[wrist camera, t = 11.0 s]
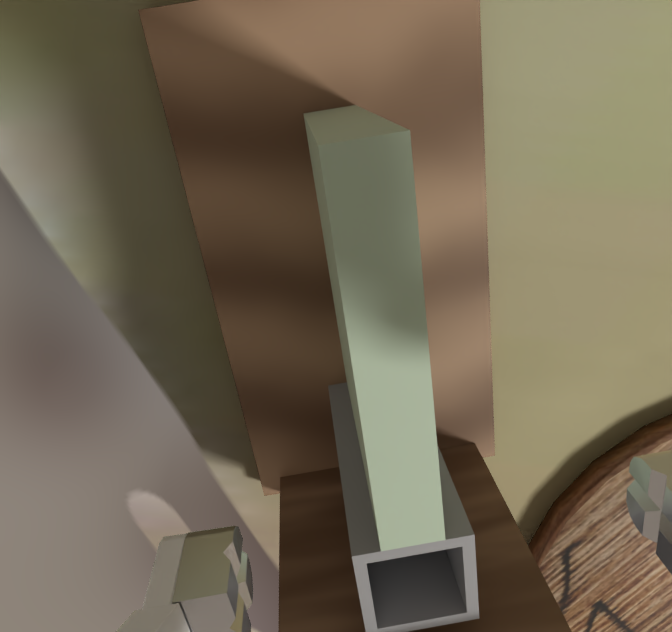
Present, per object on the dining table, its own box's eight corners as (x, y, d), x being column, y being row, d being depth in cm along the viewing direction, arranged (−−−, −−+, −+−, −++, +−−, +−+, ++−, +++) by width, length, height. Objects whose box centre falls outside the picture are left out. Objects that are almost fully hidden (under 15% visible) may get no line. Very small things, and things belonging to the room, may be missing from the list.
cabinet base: (144, 12, 20) (-59, -75, 8) (469, -40, 20) (731, -197, 8) (265, 482, 29) (251, 765, 17) (488, 443, 29) (627, 696, 17)
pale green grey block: (279, 117, 21) (276, 151, 12) (378, 101, 21) (451, 123, 12) (339, 450, 27) (367, 639, 18) (414, 437, 27) (479, 618, 18)
